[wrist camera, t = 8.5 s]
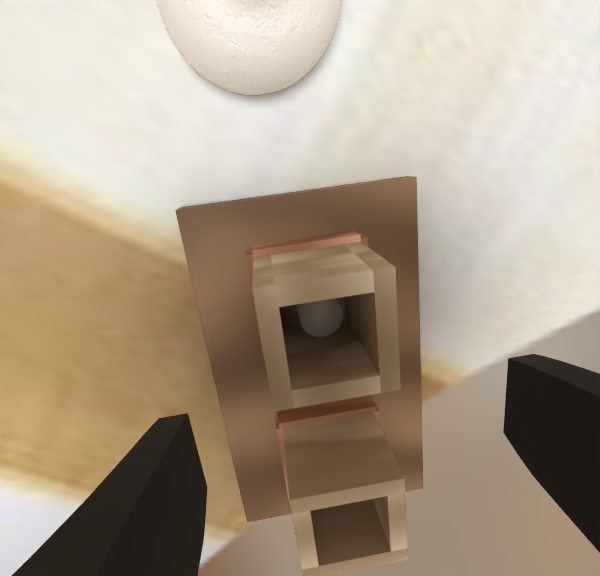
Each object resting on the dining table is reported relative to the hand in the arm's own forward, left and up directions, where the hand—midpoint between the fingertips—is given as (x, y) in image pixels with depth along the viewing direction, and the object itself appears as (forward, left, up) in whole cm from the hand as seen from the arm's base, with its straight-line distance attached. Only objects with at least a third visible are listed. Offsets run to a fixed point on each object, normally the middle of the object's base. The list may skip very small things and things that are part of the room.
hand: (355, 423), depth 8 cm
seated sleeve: (-8, 0, -9) cm, 12 cm away
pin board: (-4, 0, -10) cm, 11 cm away
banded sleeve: (0, 0, -9) cm, 9 cm away
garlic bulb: (+11, +1, -10) cm, 15 cm away
